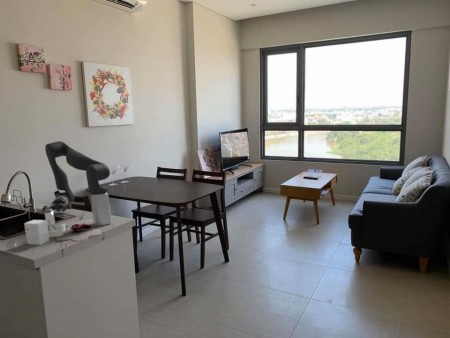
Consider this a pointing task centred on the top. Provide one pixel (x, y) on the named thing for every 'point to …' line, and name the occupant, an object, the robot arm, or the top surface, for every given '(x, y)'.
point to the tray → (57, 231)
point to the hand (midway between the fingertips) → (54, 210)
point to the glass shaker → (50, 219)
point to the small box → (36, 232)
